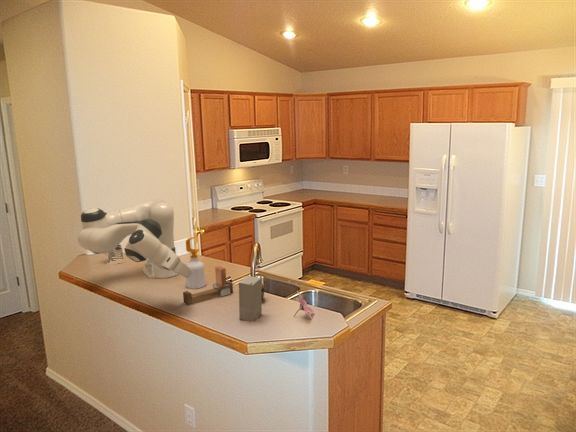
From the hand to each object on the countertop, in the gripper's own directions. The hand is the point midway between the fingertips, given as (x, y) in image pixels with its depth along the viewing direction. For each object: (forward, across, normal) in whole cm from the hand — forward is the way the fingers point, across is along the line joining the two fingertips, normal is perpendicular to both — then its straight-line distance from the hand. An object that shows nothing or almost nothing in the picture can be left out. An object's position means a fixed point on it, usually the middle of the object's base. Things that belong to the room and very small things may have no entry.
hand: (187, 275), depth 198 cm
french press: (+8, -89, -11) cm, 90 cm away
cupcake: (+25, +17, +7) cm, 31 cm away
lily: (+28, +45, +10) cm, 54 cm away
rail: (+16, 0, -2) cm, 16 cm away
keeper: (+21, 0, +3) cm, 21 cm away
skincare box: (+17, +31, -1) cm, 35 cm away
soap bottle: (+19, -19, 0) cm, 27 cm away
